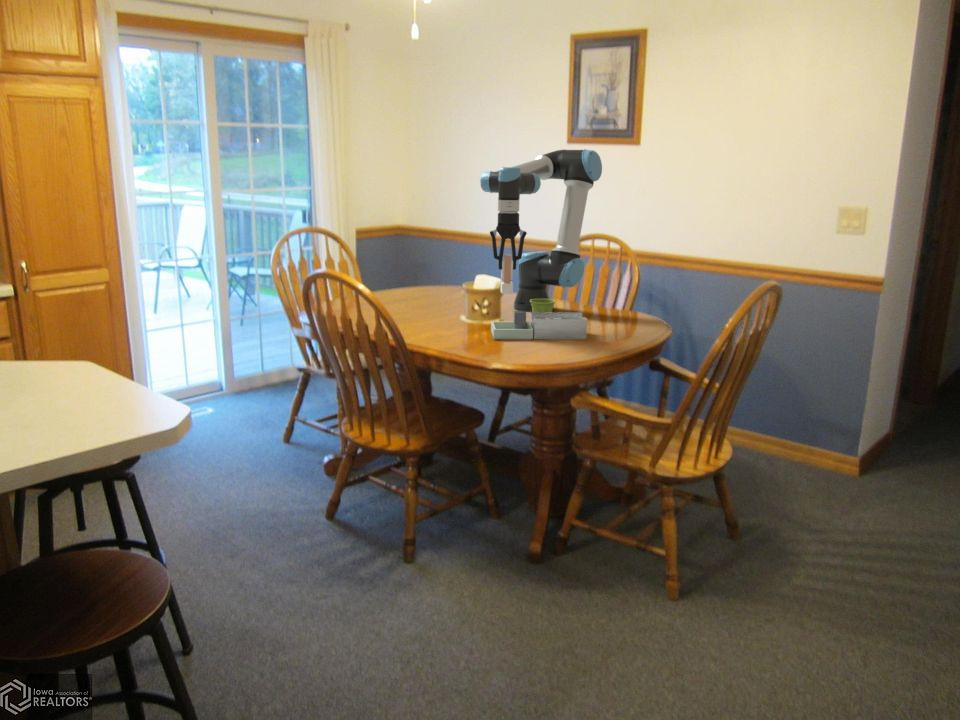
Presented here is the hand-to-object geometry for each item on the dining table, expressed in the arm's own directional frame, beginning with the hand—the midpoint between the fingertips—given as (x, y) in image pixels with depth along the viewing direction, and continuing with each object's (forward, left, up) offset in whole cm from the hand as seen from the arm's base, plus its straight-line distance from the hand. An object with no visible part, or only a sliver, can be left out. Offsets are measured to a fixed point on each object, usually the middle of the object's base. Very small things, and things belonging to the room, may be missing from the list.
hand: (506, 278), depth 287 cm
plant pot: (-7, +14, -18) cm, 24 cm away
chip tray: (+13, +1, -18) cm, 22 cm away
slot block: (+13, +17, -18) cm, 28 cm away
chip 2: (+13, +6, -16) cm, 21 cm away
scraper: (0, 0, -5) cm, 5 cm away
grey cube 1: (+13, +4, -14) cm, 19 cm away
